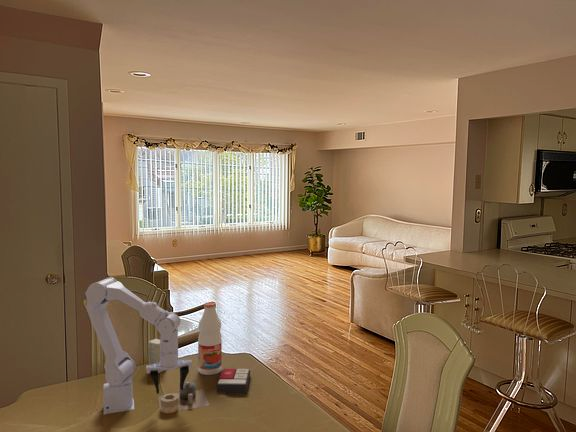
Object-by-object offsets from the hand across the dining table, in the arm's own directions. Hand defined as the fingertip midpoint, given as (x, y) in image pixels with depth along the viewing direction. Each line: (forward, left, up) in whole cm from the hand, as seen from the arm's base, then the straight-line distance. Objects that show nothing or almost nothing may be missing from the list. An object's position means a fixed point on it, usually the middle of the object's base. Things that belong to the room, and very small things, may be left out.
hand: (169, 390), depth 144 cm
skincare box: (-1, +35, -7) cm, 36 cm away
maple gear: (0, 0, -6) cm, 6 cm away
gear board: (+5, +4, -7) cm, 9 cm away
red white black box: (+25, +12, -8) cm, 29 cm away
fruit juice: (+19, +27, -7) cm, 34 cm away
